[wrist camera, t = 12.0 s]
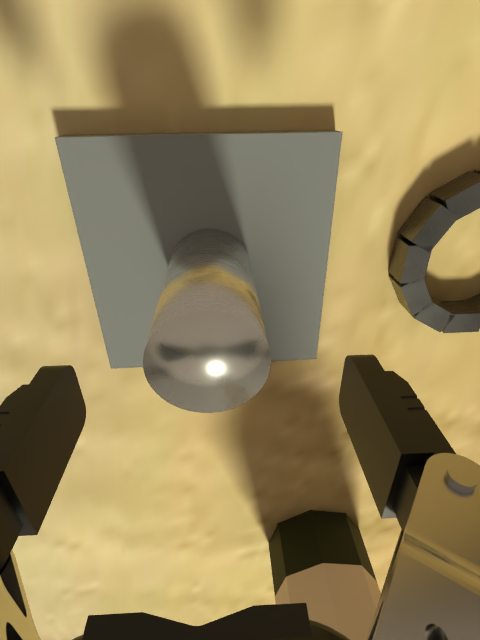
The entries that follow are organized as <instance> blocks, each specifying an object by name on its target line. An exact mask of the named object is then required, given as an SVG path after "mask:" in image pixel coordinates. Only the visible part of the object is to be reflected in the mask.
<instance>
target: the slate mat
mask: <svg viewBox="0 0 480 640" xmlns="http://www.w3.org/2000/svg"><path fill="white" fill-rule="evenodd" d="M55 140H56V145H57V149H58V153H59V157H60V161H61V165H62V169H63V173H64V177H65V181H66V186H67V190H68V194H69V198H70V202H71V206H72V210H73V214H74V218H75V223H76V227H77V231H78V235H79V239H80V243H81V247H82V251H83V255H84V260H85V264H86V268H87V272H88V276H89V280H90V284H91V288H92V292H93V297H94V301H95V305H96V309H97V313H98V317H99V321H100V325H101V329H102V333H103V338H104V342H105V346H106V350H107V354H108V358H109V362H110V366H111V368H133V367H143V355H144V350H145V347H146V343H147V340H148V336H149V333H150V329H151V326H152V322H153V319H154V315H155V312H156V308H157V305H158V301H159V298H160V294H161V291H162V287H163V284H164V280H165V277H166V273H167V270H168V266H169V263H170V259H171V256H172V253H173V250H174V248H175V247H176V245H177V244H178V243H179V241H180V240H181V239H182V238H184V237H185V236H186V235H188V234H190V233H192V232H194V231H197V230H200V229H208V228H209V229H219V230H222V231H225V232H228V233H230V234H231V235H233V236H234V237H236V238H237V239H238V240H239V241H240V242H241V243H242V244H243V246H244V247H245V249H246V251H247V253H248V256H249V260H250V264H251V269H252V273H253V278H254V282H255V287H256V292H257V296H258V301H259V305H260V310H261V314H262V319H263V324H264V328H265V333H266V337H267V342H268V346H269V351H270V356H271V361H285V360H307V359H316V356H317V347H318V339H319V330H320V321H321V313H322V304H323V296H324V287H325V278H326V270H327V261H328V252H329V244H330V235H331V226H332V218H333V209H334V200H335V192H336V183H337V174H338V166H339V157H340V148H341V140H342V132H340V131H283V132H229V133H176V134H123V135H69V136H59V137H55Z"/></svg>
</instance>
